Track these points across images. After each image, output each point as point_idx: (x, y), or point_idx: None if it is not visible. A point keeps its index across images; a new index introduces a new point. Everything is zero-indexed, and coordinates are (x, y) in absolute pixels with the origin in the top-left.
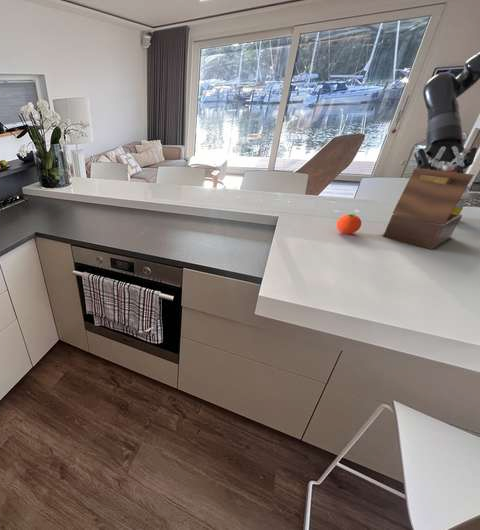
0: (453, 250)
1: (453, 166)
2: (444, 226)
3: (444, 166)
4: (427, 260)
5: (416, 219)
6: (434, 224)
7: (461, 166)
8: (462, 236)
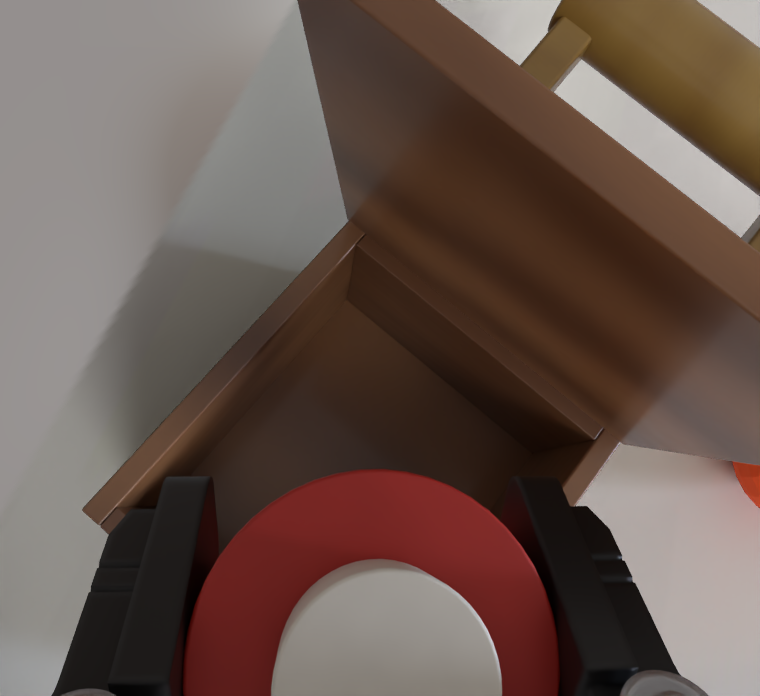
0: (230, 288)
1: (305, 607)
2: (334, 238)
3: (476, 613)
4: None
5: (483, 336)
6: None
7: (101, 692)
8: (45, 551)
